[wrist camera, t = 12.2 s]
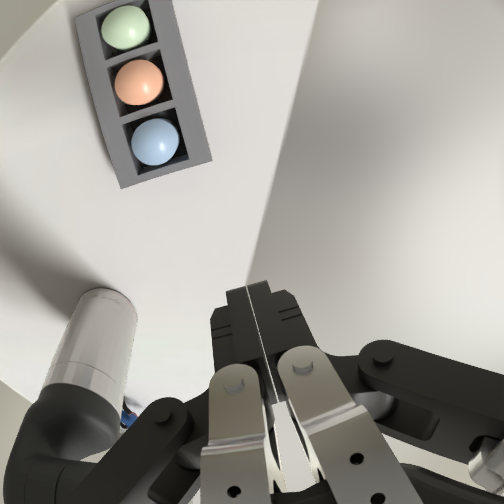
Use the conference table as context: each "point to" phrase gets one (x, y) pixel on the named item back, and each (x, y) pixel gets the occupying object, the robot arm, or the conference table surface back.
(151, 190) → the conference table surface
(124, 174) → the tray
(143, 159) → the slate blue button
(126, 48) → the sage button
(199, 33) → the conference table surface
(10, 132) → the conference table surface
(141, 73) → the orange button
